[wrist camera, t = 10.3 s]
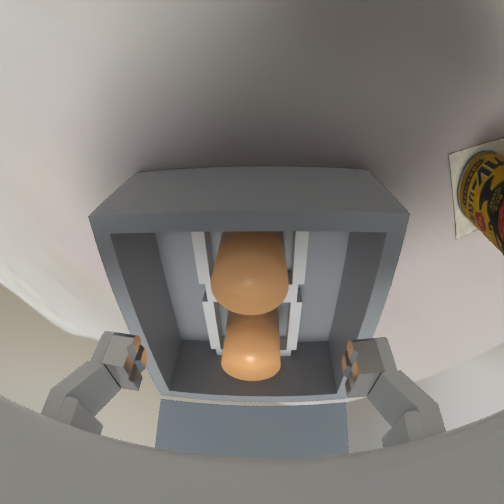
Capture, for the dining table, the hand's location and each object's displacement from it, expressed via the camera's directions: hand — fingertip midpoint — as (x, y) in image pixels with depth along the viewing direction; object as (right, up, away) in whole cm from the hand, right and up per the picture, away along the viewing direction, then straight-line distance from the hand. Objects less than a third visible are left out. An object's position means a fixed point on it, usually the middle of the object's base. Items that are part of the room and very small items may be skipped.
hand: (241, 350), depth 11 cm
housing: (0, +2, +11) cm, 11 cm away
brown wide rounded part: (0, +5, +9) cm, 10 cm away
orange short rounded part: (0, -1, +12) cm, 12 cm away
